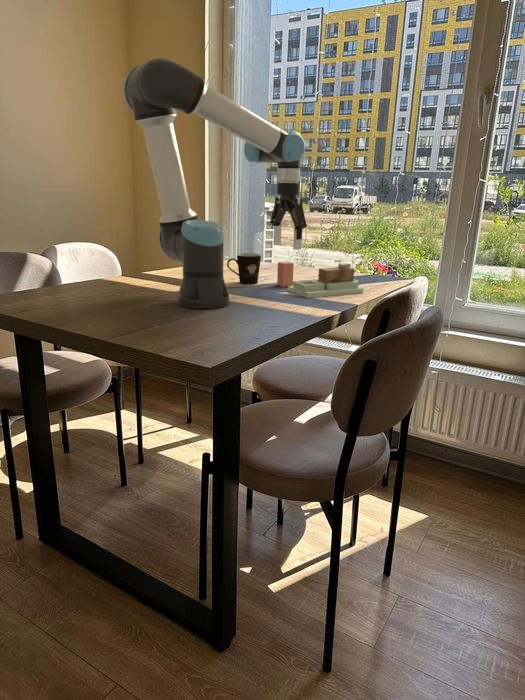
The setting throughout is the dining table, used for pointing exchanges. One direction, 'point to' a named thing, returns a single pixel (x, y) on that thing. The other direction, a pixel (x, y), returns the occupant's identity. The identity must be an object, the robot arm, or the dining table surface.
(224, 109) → the robot arm
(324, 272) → the brown wooden block
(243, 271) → the coffee mug
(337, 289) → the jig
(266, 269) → the dining table surface
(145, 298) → the dining table surface
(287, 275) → the red block
